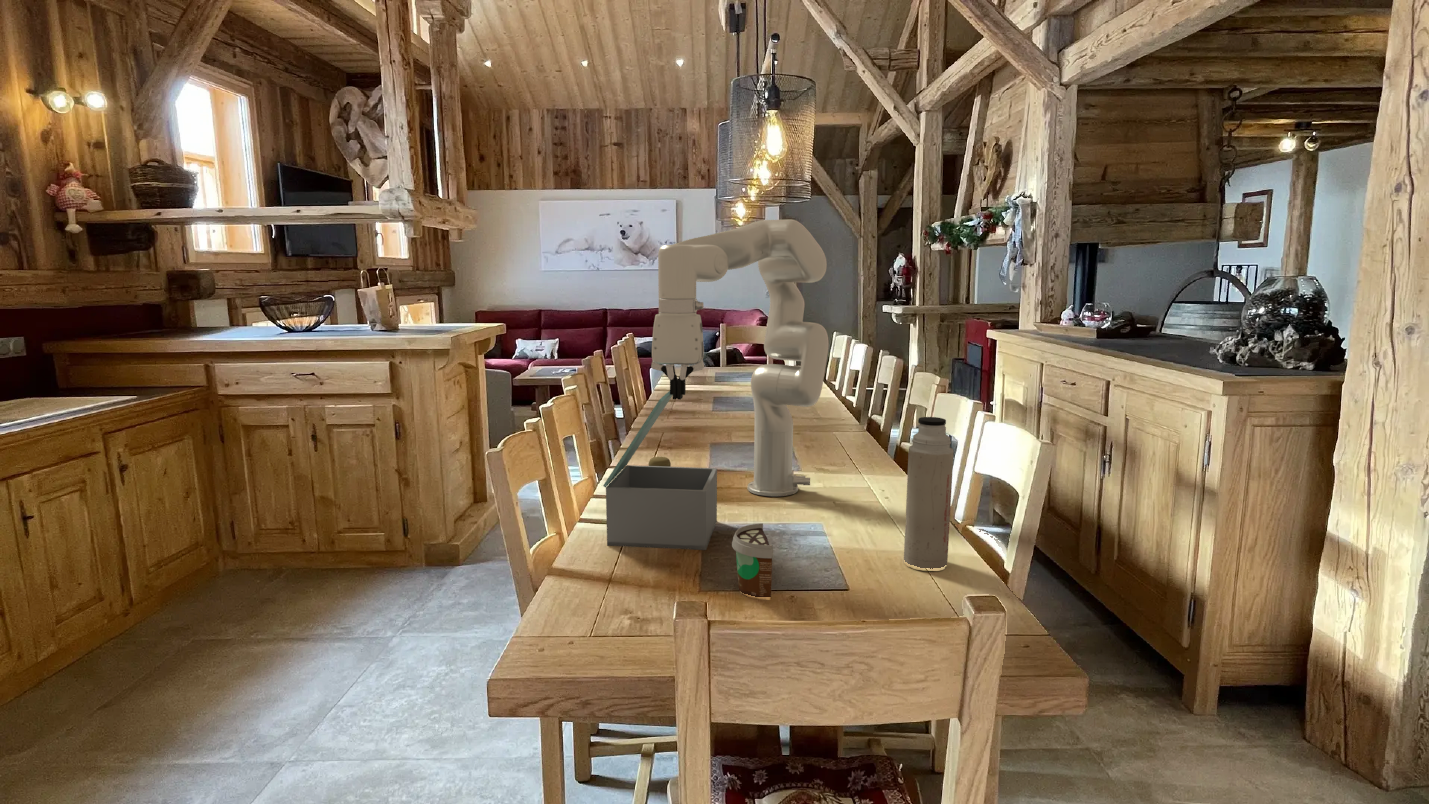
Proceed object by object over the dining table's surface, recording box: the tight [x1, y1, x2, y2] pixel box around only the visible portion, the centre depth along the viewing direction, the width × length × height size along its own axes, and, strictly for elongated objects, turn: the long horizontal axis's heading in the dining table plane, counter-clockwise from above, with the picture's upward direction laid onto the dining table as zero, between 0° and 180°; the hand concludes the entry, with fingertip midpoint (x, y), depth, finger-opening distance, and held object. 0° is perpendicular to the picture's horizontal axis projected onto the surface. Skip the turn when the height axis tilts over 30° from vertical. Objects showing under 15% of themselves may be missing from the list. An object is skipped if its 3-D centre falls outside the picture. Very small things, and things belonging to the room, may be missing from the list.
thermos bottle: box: [903, 416, 955, 569], centre depth 146 cm, size 8×8×28 cm
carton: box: [605, 464, 718, 551], centre depth 165 cm, size 20×18×12 cm
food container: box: [731, 523, 774, 598], centre depth 136 cm, size 12×6×10 cm, turn 5°
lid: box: [602, 390, 673, 489], centre depth 163 cm, size 21×19×1 cm
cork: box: [647, 456, 672, 467], centre depth 186 cm, size 6×6×11 cm
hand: (677, 398), depth 160 cm, fingers closed
